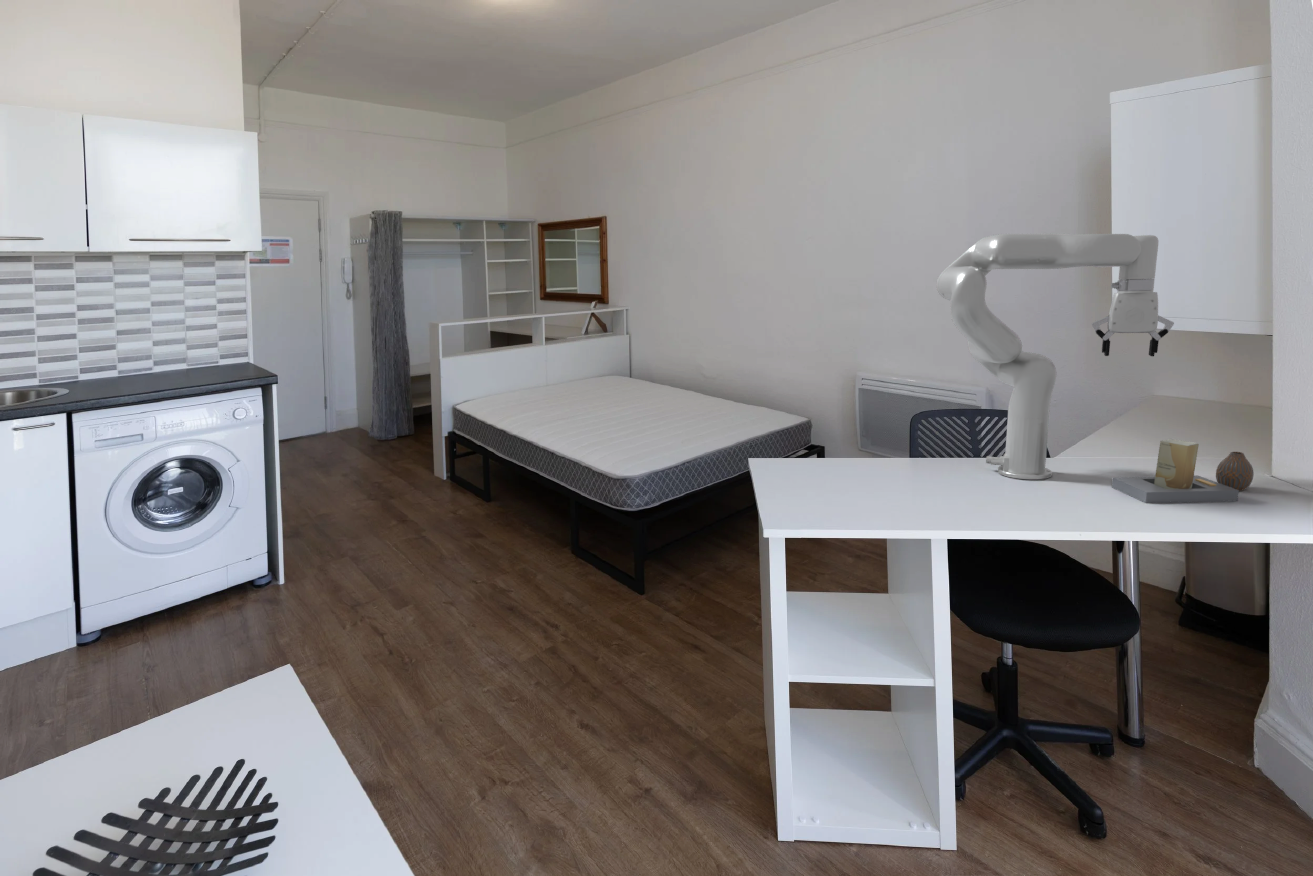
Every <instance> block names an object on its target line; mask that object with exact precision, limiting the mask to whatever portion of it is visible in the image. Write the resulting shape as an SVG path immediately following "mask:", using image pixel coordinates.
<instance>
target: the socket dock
mask: <svg viewBox="0 0 1313 876" xmlns="http://www.w3.org/2000/svg"><path fill="white" fill-rule="evenodd" d="M1154 481H1155V475H1154V476H1153V475H1152V476H1120V477H1119V476H1116V477H1112V480H1111V488H1113V489H1114V490H1116V491H1119V492H1121V493H1123V494H1126V495H1128V496H1130V497H1132V498H1133V499H1136V500H1138V501H1141V502H1143V503H1144V504H1153V503H1154V504H1157V503H1158V504H1160V503H1161V504H1162V503H1163V504H1165V503H1166V504H1167V503H1205V502H1207V503H1208V502H1209V503H1210V502H1211V503H1213V502H1238V501H1239V493H1240V491H1239V490H1237V489H1234V488H1231V487H1228V486H1226V485H1223V484H1220V483H1218V482H1217V481H1214V480H1211V479H1209V478H1206V477H1203V476H1201V475H1195V474H1194V477H1193V484H1192V489H1164V488H1162V487H1159V486H1157V485H1155V484H1154Z"/></svg>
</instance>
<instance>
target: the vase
mask: <svg viewBox="0 0 1313 876" xmlns="http://www.w3.org/2000/svg"><path fill="white" fill-rule="evenodd" d="M1254 474H1255V473H1254V468H1253V466H1252V464H1251V463H1250V461H1249V460H1248V459H1247V457H1246V455H1245V453H1244V452H1240V451H1231V452H1229V454H1228V455H1227V456H1226V457H1225V458H1223V459H1222V460H1221V461H1220V462H1219V464H1218V465H1217V467H1216V470H1215V480H1216V482H1217V483H1220V484H1223V485H1226V486H1228V487H1231V488H1234V489H1237V490H1239V492H1241V491H1244V490H1247V488H1249V486H1251V485H1252V483H1253V479H1254Z"/></svg>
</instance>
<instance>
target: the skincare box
mask: <svg viewBox="0 0 1313 876" xmlns="http://www.w3.org/2000/svg"><path fill="white" fill-rule="evenodd" d="M1198 451H1199V443H1198V442H1193V441H1186V440H1180V439H1174V438H1167V439H1164V440H1160V442H1159V447H1158V453H1157V463H1156V468H1155V475H1154V476H1155V481H1154V484H1155V485H1157V486H1159V487H1162V488H1164V489H1192V484H1193V477H1194V476H1195V470H1196V464H1197V463H1196V462H1197V457H1198Z"/></svg>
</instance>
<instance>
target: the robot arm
mask: <svg viewBox="0 0 1313 876" xmlns="http://www.w3.org/2000/svg"><path fill="white" fill-rule="evenodd" d="M1158 249H1159V239H1158V236H1156V235H1152V234H1146V235H1144V234H1143V235H1132V234H1129V233H1087V234H1086V233H1082V234H1081V233H1080V234H1079V233H1001V234H995V235H994V234H993V235H988V236H984V237H983V238H980V239H979V240H978V241H976V242H975V243H974V244H972V245H971V246H970V247H969V248H968V249H967V250H965V251H964V252H963V253H962V254H961V255H960V256H959V257H958V258H956V259H955V260H954V261H953V262H952V263H950V265H948V266H947V267H945V269H944V270H943V271H941V273H940V275H939V276H938V278H937V280H936V290H937V293H938V295H940V297H941V298H943V299H945V300H947V301H950V315H951V320H952V322H953V326H954V327H956V329H957V331H958V332H960V334H962V336H964V337H965V338H966V340H967V348H968V352H969V353H970V355H971V357H972V358H973V359H974V360H976V362H977V363H979V364H980V365H981V367H983V368H984V369H985V370H986V371H988V372H989V373H990V374H991V375H992V376H994V377H995V378H996V379H997V380H998V381H999V382H1001V383H1003V384H1005V385H1007V386H1010V387H1013V389H1012V392H1011V395H1010V398H1009V402H1008V406H1007V407H1008V409H1007V422H1006V423H1007V425H1006V437H1005V438H1006V441H1005V453H1003V455H1000V456H999V457H996V456H995V457H994V456H989V455H987V456H986V458H985V459H986V460H985V464H990V465H991V466H997V472H998V474H1000V475H1001V476H1005V477H1008V478H1012V479H1019V480H1044V479H1048V478H1051V477H1052V475H1053V474H1052V473H1053V472H1052V470H1051V469H1049V468H1047V467H1046V463H1047V462H1046V461H1047V451H1048V437H1049V425H1050V413H1051V412H1050V411H1051V402H1052V396H1053V392H1054V388H1055V385H1056V381H1057V368H1056V365H1055V363H1054V362H1053V361H1052V360H1051V359H1050V358H1048V357H1047V356H1046V355H1043V354H1039V353H1036V352H1028V351H1024V350H1023V343H1022V340H1021V338H1020V336H1019V335H1018V334H1017V333H1016V332H1015V331H1014V330H1013V329H1012V328H1010V327H1009V326H1008V325H1007V324H1005V323H1004V322H1003V321H1002V320H1001V319H1000V318H999V317H997V315H995V314H994V313H993V311H992V310H991V309H990V308H989V307H988V305H987V303H986V290H987V277H986V276H987V275H988V274H990V272H991V271H992V270H1061V269H1062V270H1063V269H1069V268H1077V267H1078V268H1079V267H1082V268H1083V267H1094V268H1113V267H1114V268H1115V267H1119V268H1118V269H1119V270H1118V280H1117V281H1115V282H1111V283H1110V289H1114V290H1116V291H1117V292H1114V293H1113V296H1112V299H1111V303H1110V308H1109V311H1108V312H1109V313H1108V314H1109V315H1107V316H1105V317H1102V318H1100V319H1097V320H1095V321H1093V322H1092V323H1091V326H1092V328H1093V330H1094V332H1095V334H1096V335H1098V337H1099V338H1101V339H1102V343H1101V344H1102V345H1101V353H1103V354H1104V356H1105V357H1109V356H1110V351H1111V350H1110V347H1111V340H1110V338H1111V337H1112V336H1113V335H1114V334H1148V335H1149V336H1151V339H1150V340H1149V348H1148V356H1150V357H1155V355H1156V354H1158V351H1159V350H1158V349H1159V341H1160V340H1161V339H1162V338H1164V336H1166V335H1167V334H1168V333H1169V331H1170V330H1171V329H1172V327H1173V326H1174V325H1175V322H1174V321H1172V320H1170V319H1167V318H1165V317H1163V316H1160V315H1159V295H1158V292H1157V291H1154V288H1155V280H1156V279H1155V278H1156V270H1157V259H1158ZM1105 323H1107V330H1106V331H1105V332H1103V331H1102V329H1101V327H1100V326H1101V325H1103V324H1105ZM1158 323H1161V324H1163V325H1164V326H1163V328H1162V329H1160V331H1158V332H1157V331H1156V330H1157V329H1158Z"/></svg>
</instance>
